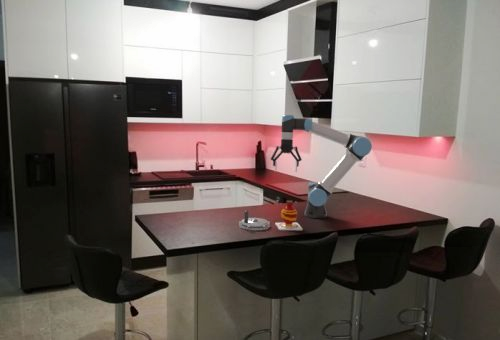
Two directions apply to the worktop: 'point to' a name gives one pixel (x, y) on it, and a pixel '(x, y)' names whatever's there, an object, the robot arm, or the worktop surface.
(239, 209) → the worktop surface
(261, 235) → the worktop surface
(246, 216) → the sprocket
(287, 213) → the potion bottle
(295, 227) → the seat
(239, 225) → the sprocket base
